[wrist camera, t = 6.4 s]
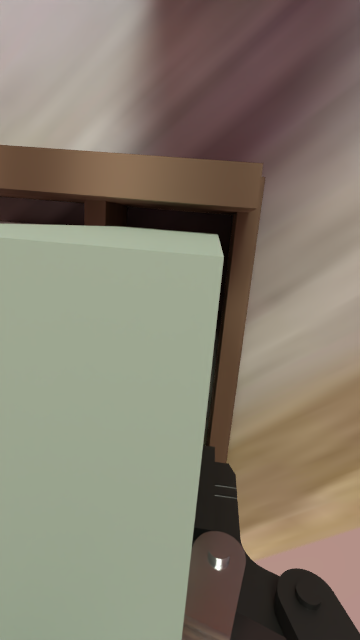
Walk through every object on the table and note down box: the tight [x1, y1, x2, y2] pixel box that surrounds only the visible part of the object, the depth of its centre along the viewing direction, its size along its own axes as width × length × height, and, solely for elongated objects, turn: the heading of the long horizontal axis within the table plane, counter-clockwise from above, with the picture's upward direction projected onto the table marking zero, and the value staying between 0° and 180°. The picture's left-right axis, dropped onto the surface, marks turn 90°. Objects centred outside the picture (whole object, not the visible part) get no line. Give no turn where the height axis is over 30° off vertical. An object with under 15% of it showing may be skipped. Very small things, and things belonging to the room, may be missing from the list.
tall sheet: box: [0, 223, 224, 640], centre depth 12 cm, size 4×16×14 cm, turn 175°
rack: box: [0, 145, 265, 463], centre depth 19 cm, size 18×21×7 cm
